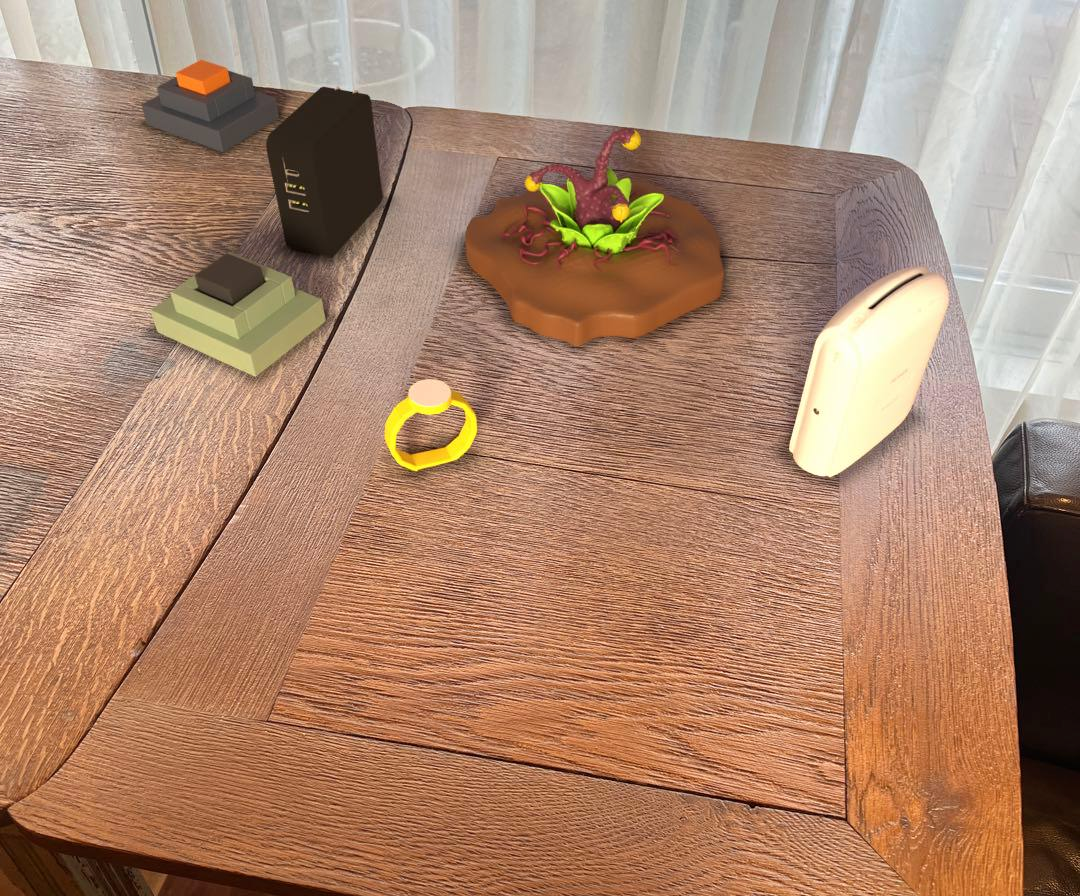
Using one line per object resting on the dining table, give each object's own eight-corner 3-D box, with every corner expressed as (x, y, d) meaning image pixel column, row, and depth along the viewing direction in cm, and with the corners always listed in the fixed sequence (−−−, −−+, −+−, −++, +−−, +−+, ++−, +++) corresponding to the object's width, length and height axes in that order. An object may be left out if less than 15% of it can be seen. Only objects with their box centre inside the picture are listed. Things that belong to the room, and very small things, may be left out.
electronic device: (286, 252, 86) (262, 138, 79) (342, 193, 92) (325, 82, 85) (331, 262, 85) (311, 147, 78) (384, 202, 91) (370, 90, 84)
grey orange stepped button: (147, 126, 100) (135, 85, 97) (205, 94, 105) (196, 54, 102) (223, 153, 97) (213, 112, 94) (280, 119, 101) (272, 79, 98)
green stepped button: (157, 333, 79) (142, 289, 76) (230, 282, 83) (219, 238, 80) (255, 378, 75) (244, 334, 72) (326, 322, 80) (318, 278, 77)
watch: (397, 486, 68) (388, 418, 64) (385, 459, 70) (375, 391, 65) (482, 461, 70) (479, 394, 65) (468, 435, 71) (464, 368, 67)
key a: (199, 292, 76) (194, 275, 75) (231, 270, 78) (226, 252, 77) (233, 307, 75) (228, 289, 74) (265, 284, 77) (261, 266, 76)
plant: (766, 299, 82) (793, 168, 74) (546, 367, 76) (548, 233, 68) (641, 182, 94) (652, 57, 85) (443, 233, 88) (433, 105, 80)
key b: (179, 89, 98) (175, 72, 97) (205, 75, 100) (201, 59, 99) (205, 98, 97) (201, 81, 95) (231, 84, 99) (227, 67, 97)
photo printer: (828, 489, 68) (875, 338, 59) (776, 456, 70) (814, 304, 61) (916, 418, 73) (972, 268, 63) (865, 389, 75) (913, 239, 65)
